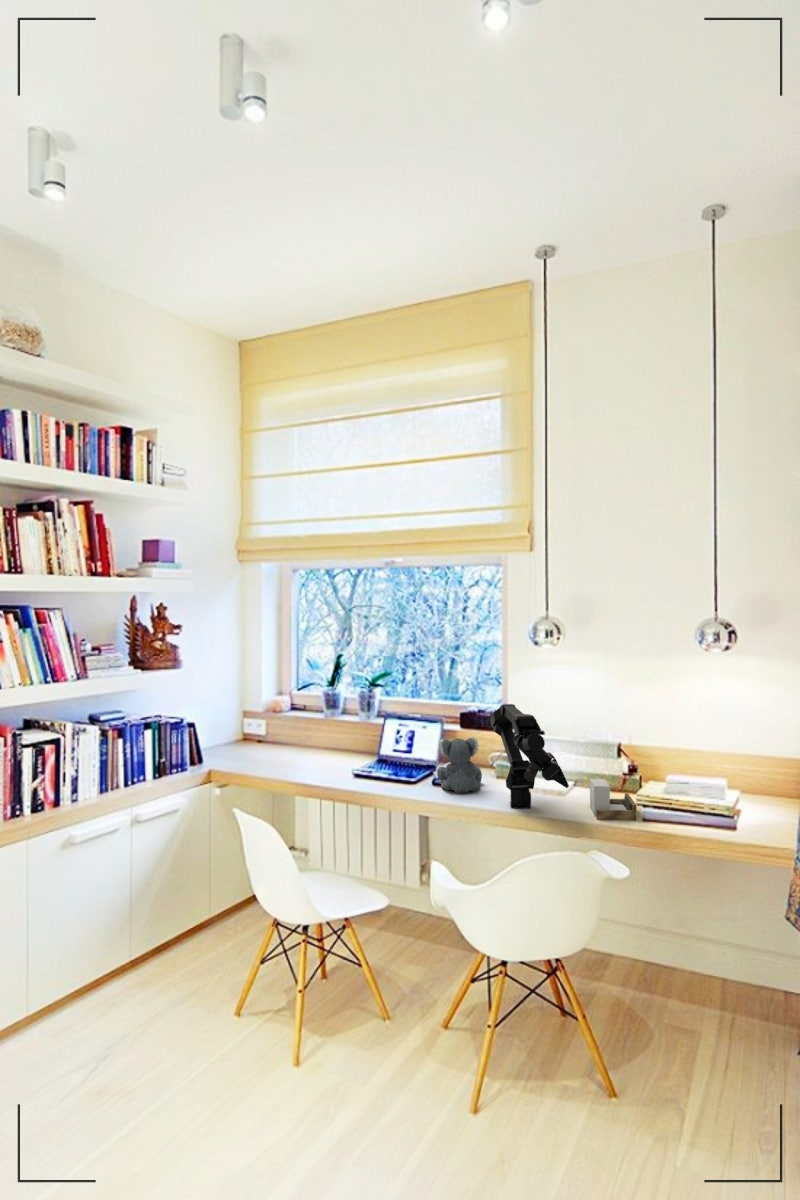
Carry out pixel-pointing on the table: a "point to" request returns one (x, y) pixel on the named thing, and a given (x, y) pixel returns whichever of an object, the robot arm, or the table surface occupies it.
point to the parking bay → (619, 814)
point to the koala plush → (459, 765)
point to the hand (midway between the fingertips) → (566, 783)
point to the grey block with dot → (601, 797)
